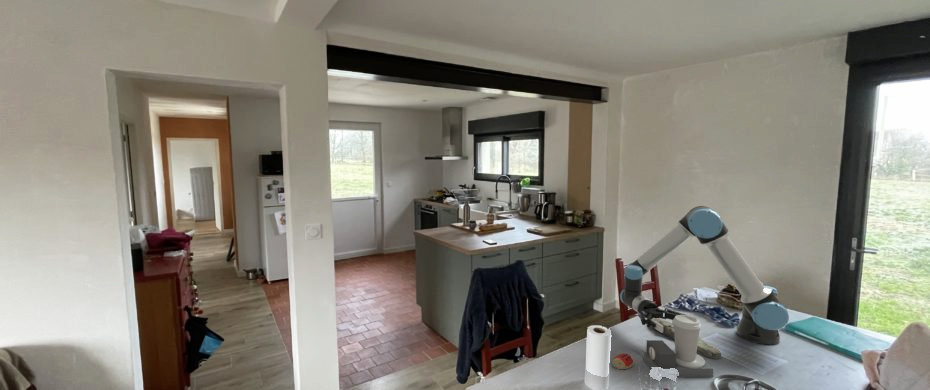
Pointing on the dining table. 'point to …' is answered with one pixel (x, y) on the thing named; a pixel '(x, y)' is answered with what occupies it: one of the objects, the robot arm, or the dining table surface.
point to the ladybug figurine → (623, 361)
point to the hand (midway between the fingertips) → (678, 328)
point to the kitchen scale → (674, 360)
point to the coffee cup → (686, 337)
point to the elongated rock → (702, 345)
